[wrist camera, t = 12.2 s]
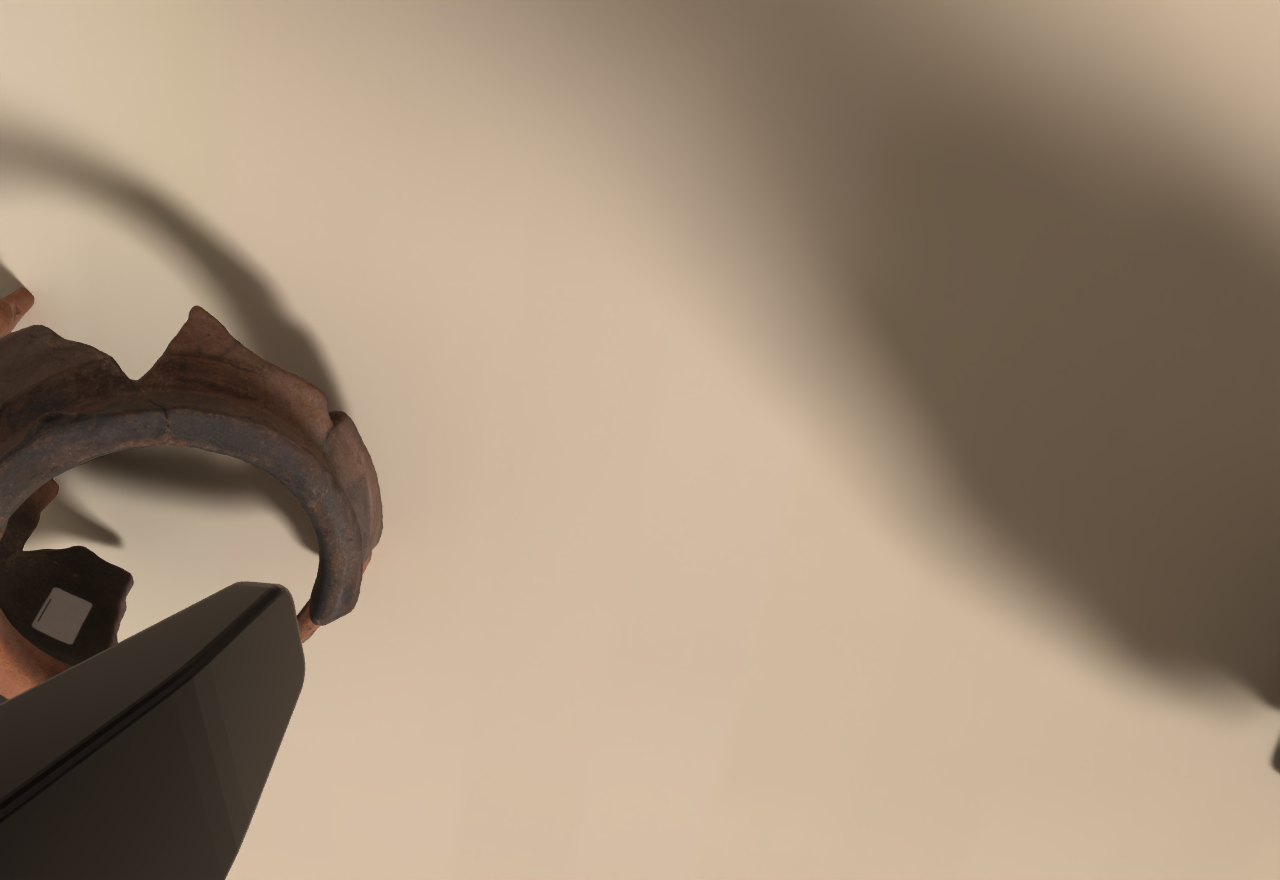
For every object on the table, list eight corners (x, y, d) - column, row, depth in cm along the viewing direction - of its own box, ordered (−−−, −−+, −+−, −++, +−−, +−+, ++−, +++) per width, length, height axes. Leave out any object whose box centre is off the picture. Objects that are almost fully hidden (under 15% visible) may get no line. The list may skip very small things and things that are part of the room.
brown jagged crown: (23, 147, 21) (-29, 275, 15) (411, 324, 27) (499, 476, 20) (-176, 588, 24) (-296, 865, 17) (215, 668, 29) (236, 901, 23)
